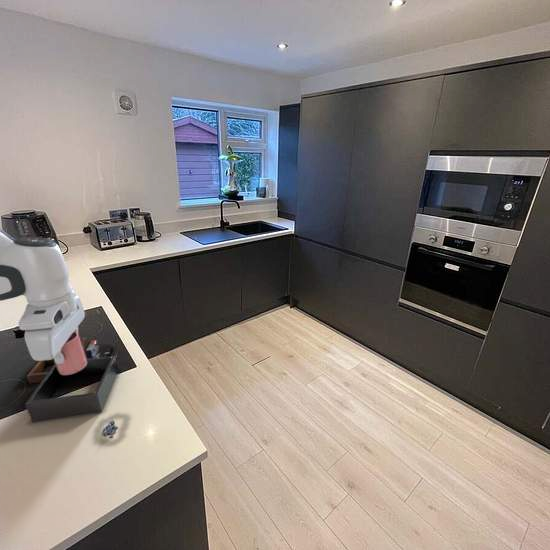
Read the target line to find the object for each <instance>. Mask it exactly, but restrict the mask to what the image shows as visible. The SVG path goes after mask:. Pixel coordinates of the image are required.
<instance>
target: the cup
mask: <svg viewBox="0 0 550 550" xmlns="http://www.w3.org/2000/svg"><path fill="white" fill-rule="evenodd" d="M80 338H81V337H80V333H79V331H78V332H76V331H74V332H73V333H72V335H71V336H70V337H69V339H68V340H67V341H66V343H65V344H64V345H63V347H62V348H61V353H62V354H65V357H66V359H65V361H64V363H61V364H56V363H54V364H55V365H56V367H57V370H58V372H59V374H61V375H70V374H74V373H76V372H79V371H80V370H82V369H83V368H84V367H85V366H86V365H87V358H86V355H85V352H84V349H83V346H82V343H81V340H80ZM53 359H54V358H53ZM54 362H55V360H54Z"/></svg>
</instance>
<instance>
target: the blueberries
mask: <svg viewBox="0 0 550 550" xmlns="http://www.w3.org/2000/svg"><path fill="white" fill-rule="evenodd" d="M118 429H119V427H118V426H117V425H115V421H114V420H111V421H110V422H108V423H107V424H106V426H105V427H104V428H102V435H103V437H108V436H109V438H108V439H113V438H114V435H115V434H116V433H117V430H118Z"/></svg>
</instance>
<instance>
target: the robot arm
mask: <svg viewBox="0 0 550 550" xmlns="http://www.w3.org/2000/svg"><path fill="white" fill-rule="evenodd" d="M21 296H24V297H25V299H26V301H27V304H26V307H25V309H24V312H23V314H22V316H21V317H20V319H19V320H18V327H19V330H21V331H24V341H25V344H26V347H27V350H28V352H29V354H30V357H31V358H32V360H34V361H35V362H39V361H45V360H51V359H53V358H54V360H55V363H56V364H61V363H64V361H65V359H66V357H65V354H62V353H61V348H62V347H63V345H64V344H65V343H66V341H67V340H68V339H69V337H70V336H71V335H72V333H73V332H74V331H76V332H78V333H79V326H80V325H81V323H82V322H83V320H84V319H85V317H86V312H85V309H84V305H83V304H82V300H81V299H80V297H79V296H78V295H76V292H75V291H74V289H73V286H72V284H71V283H70V282H69V270H68V266H67V263H66V259H65V257H64V255H63V252H62V250H61V248H60V247H59V245H58V244H57V243H56V242H55V240H52V239H49V238H46V237H40V236H39V237H37V236H29V237H21V238H14V237H13V236H12V235H10V234H8V233H7V232H6V231H4V230H3V229H1V228H0V302H1V301H6V300H11V299H15V298H18V297H21ZM55 363H54V364H55Z"/></svg>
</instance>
